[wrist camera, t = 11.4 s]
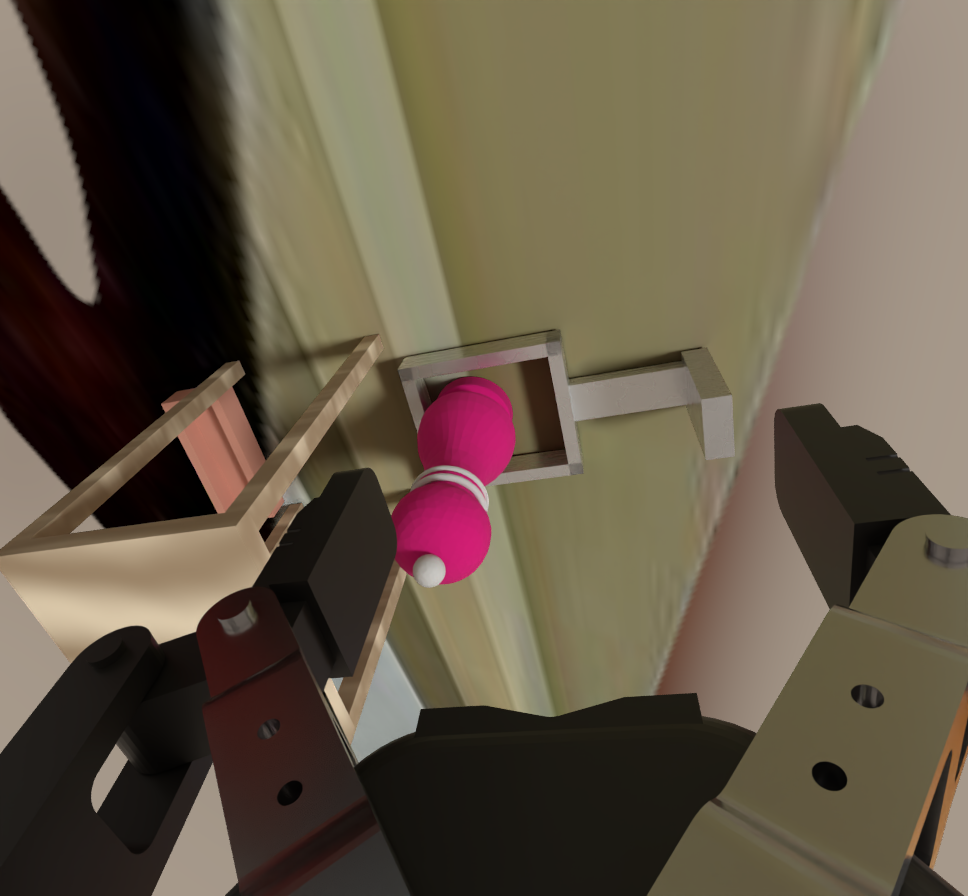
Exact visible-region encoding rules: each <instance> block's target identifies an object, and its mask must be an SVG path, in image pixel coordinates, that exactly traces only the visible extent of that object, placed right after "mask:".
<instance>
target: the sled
mask: <svg viewBox="0 0 968 896" xmlns="http://www.w3.org/2000/svg"><path fill="white" fill-rule="evenodd" d="M681 355H682V361H678V362H672V363H665V364H659V365H653V366H647V367H641V368H635V369H629V370H623V371H616V372H610V373H604V374H598V375H592V376H586V377H580V378H573V379H569V377H568V372H567V366H566V361H565V355H564V349H563V344H562V338H561V333H560V330H554V331H549V332H543V333H538V334H532V335H527V336H521V337H515V338H510V339H504V340H499V341H493V342H488V343H482V344H477V345H471V346H466V347H460V348H454V349H449V350H443V351H438V352H432V353H427V354H421V355H416V356H410V357H405V358H404V360H403V361H402V363H401V365H400V366H399V368H398V373H399V376H400V379H401V382H402V385H403V388H404V392H405V395H406V398H407V401H408V404H409V408H410V411H411V414H412V417H413V420H414V423H415V427H416V430H417V433H418V430H419V426H420V422H421V419H422V417H423V415H424V413H425V411H426V410H427V409H428V407H429V406H430V405H431V401H430V397H429V394H428V390H427V387H426V384H425V380H424V378H428V377H433V376H439V375H445V374H451V373H457V372H463V371H468V370H474V369H480V368H486V367H492V366H497V365H503V364H509V363H515V362H521V361H527V360H532V359H538V358H544V357H548V360H549V365H550V370H551V375H552V381H553V386H554V391H555V396H556V402H557V407H558V412H559V417H560V422H561V428H562V433H563V438H564V443H565V448H566V449H563V450H556V451H549V452H542V453H535V454H528V455H521V456H514V457H511V459H510V461H509V463H508V465H507V466H506V468H505V469H504V471H503V472H502V473H501V474H500V475H499V476H498V477H497V478H496V479H495V480H494V481H492V482H491V483H489V484H488V485H486V486H492V485H499V484H507V483H514V482H522V481H530V480H537V479H545V478H552V477H560V476H568V475H575V474H583V456H582V450H581V445H580V439H579V434H578V428H577V422H576V421H580V420H587V419H593V418H600V417H607V416H614V415H620V414H627V413H634V412H640V411H647V410H654V409H661V408H667V407H674V406H681V405H686V408H687V410H688V413H689V416H690V419H691V421H692V424H693V427H694V430H695V432H696V435H697V438H698V440H699V443H700V446H701V449H702V451H703V454H704V457H705V460H710V459H717V458H725V457H733V456H735V450H734V428H733V407H732V394H731V392H730V390H729V388H728V387H727V385H726V383H725V381H724V379H723V377H722V375H721V373H720V371H719V369H718V367H717V366H716V364H715V362H714V360H713V358H712V356H711V354H710V352H709V350H708V348H702V349H696V350H690V351H684V352H681Z"/></svg>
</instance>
